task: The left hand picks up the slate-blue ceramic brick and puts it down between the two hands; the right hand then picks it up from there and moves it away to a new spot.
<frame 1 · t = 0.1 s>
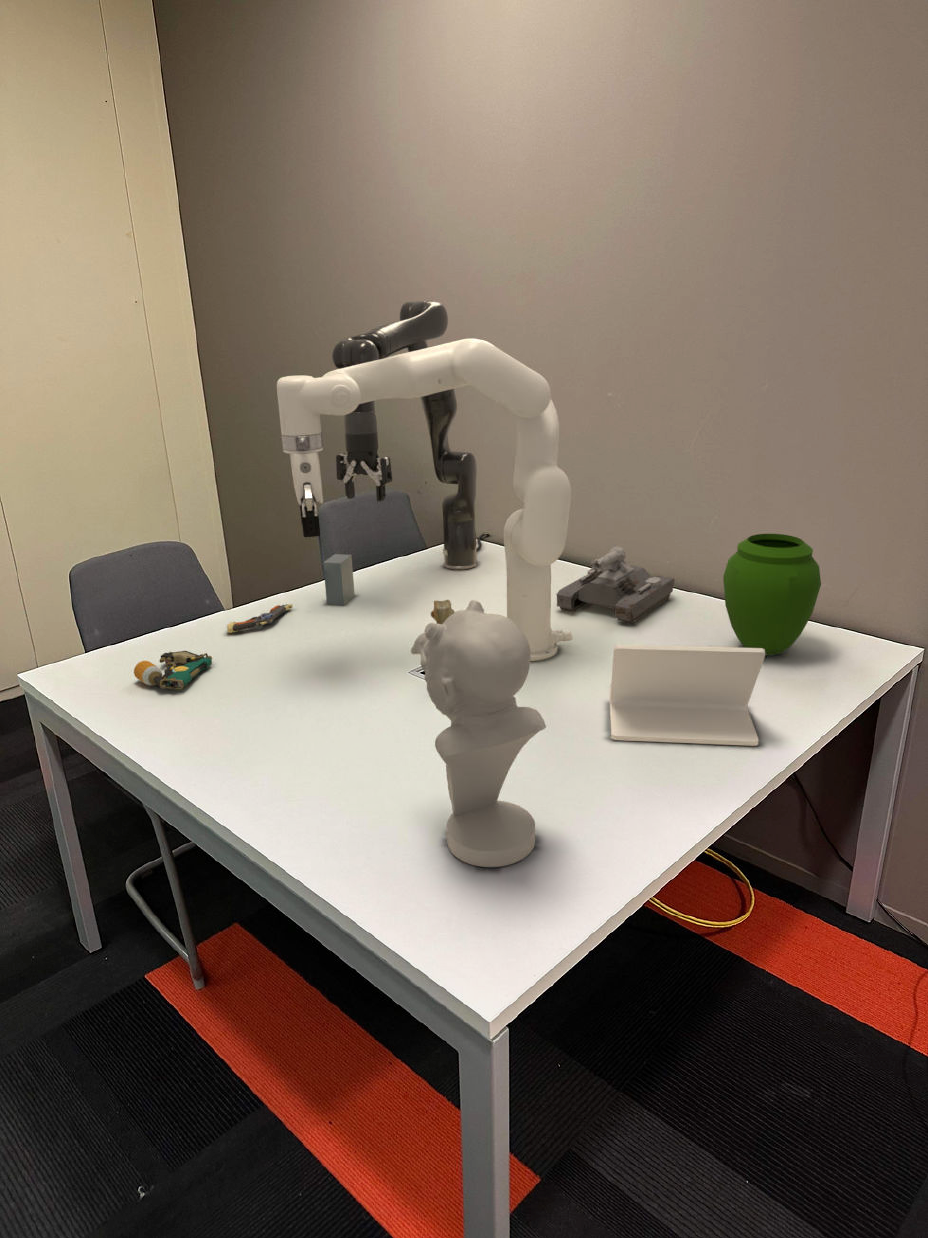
left hand: (365, 499, 203), 29 cm above the table, tool pointing down, fingers open, 8 cm apart
right hand: (310, 530, 169), 31 cm above the table, tool pointing down, fingers open, 9 cm apart
toy gun: (260, 622, 210), on the table
brick: (341, 600, 224), on the table
vase: (764, 649, 185), on the table
tablet stand: (679, 719, 156), on the table
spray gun: (177, 676, 181), on the table
sculpture: (445, 671, 180), on the table
bust sculpture: (470, 832, 125), on the table
toy: (615, 605, 214), on the table
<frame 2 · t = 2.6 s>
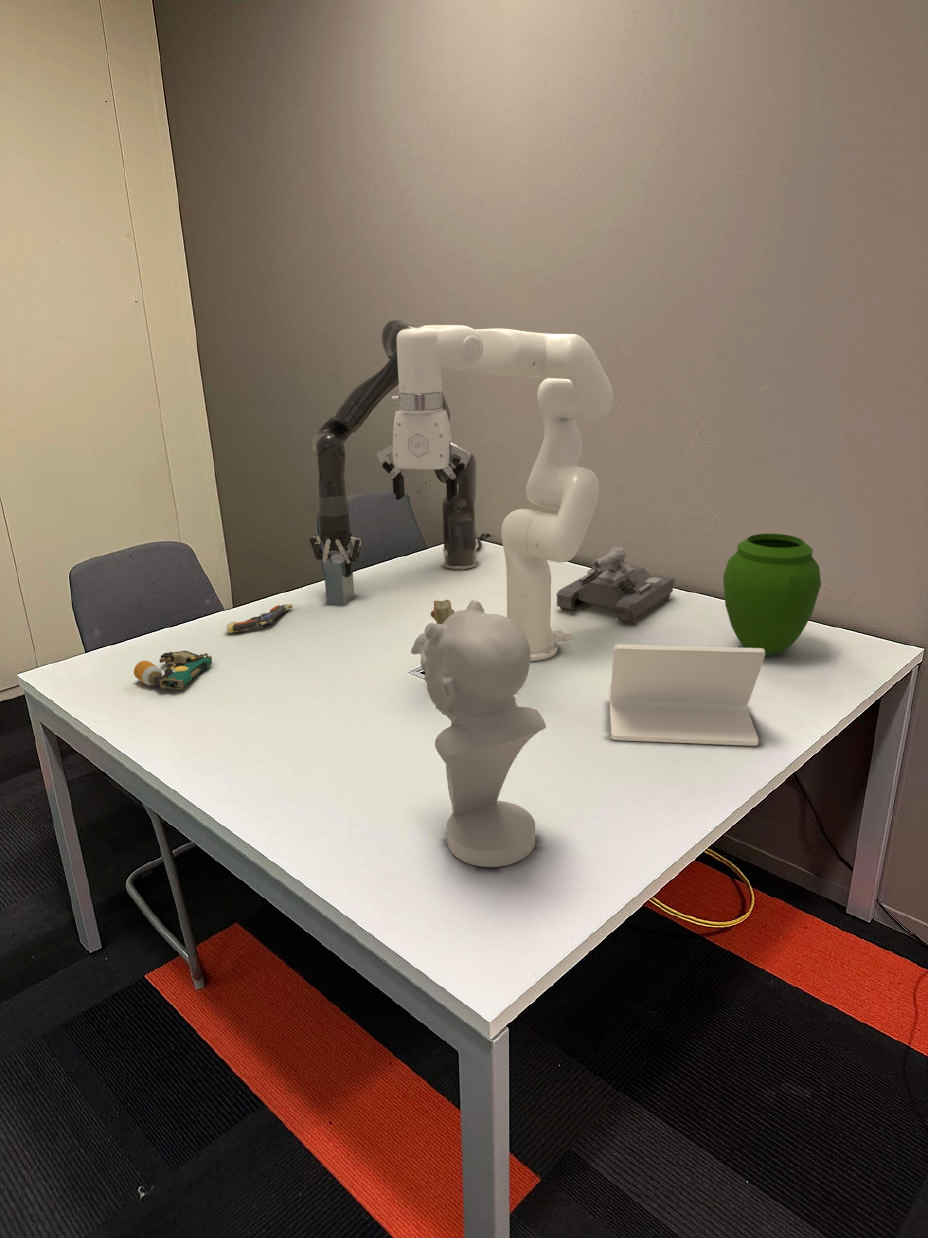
left hand: (339, 575, 221), 7 cm above the table, tool pointing down, fingers closed on brick, 4 cm apart
right hand: (425, 498, 156), 39 cm above the table, tool pointing down, fingers open, 9 cm apart
brick: (341, 600, 224), on the table, touching left hand
everything else where it was.
when the left hand's fingers open (8 cm above the table, at t = 6.0 s): brick stays where it is, on the table.
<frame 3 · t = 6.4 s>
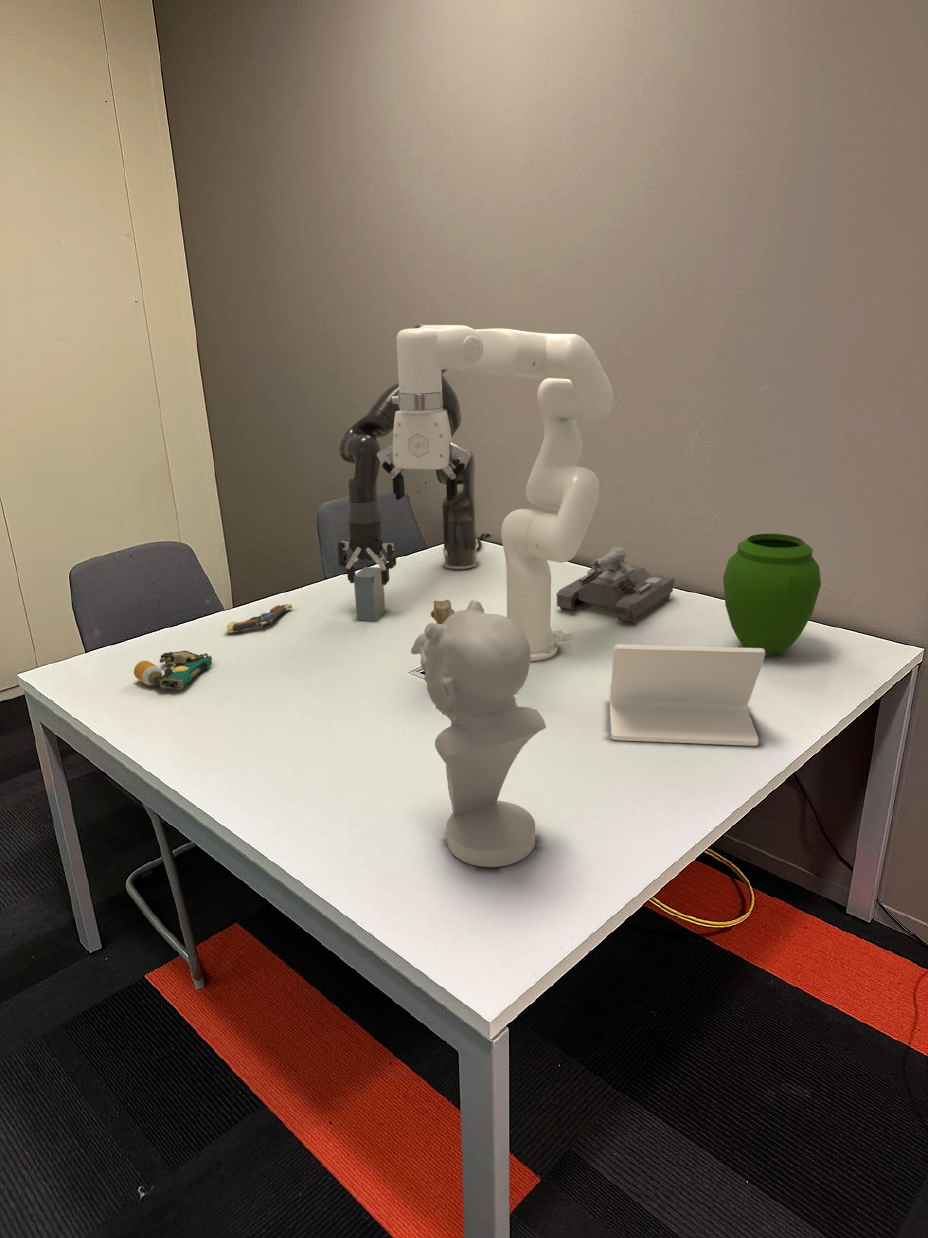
left hand: (368, 583, 209), 9 cm above the table, tool pointing down, fingers open, 8 cm apart
right hand: (425, 498, 156), 39 cm above the table, tool pointing down, fingers open, 9 cm apart
brick: (371, 615, 212), on the table
everything else where it was.
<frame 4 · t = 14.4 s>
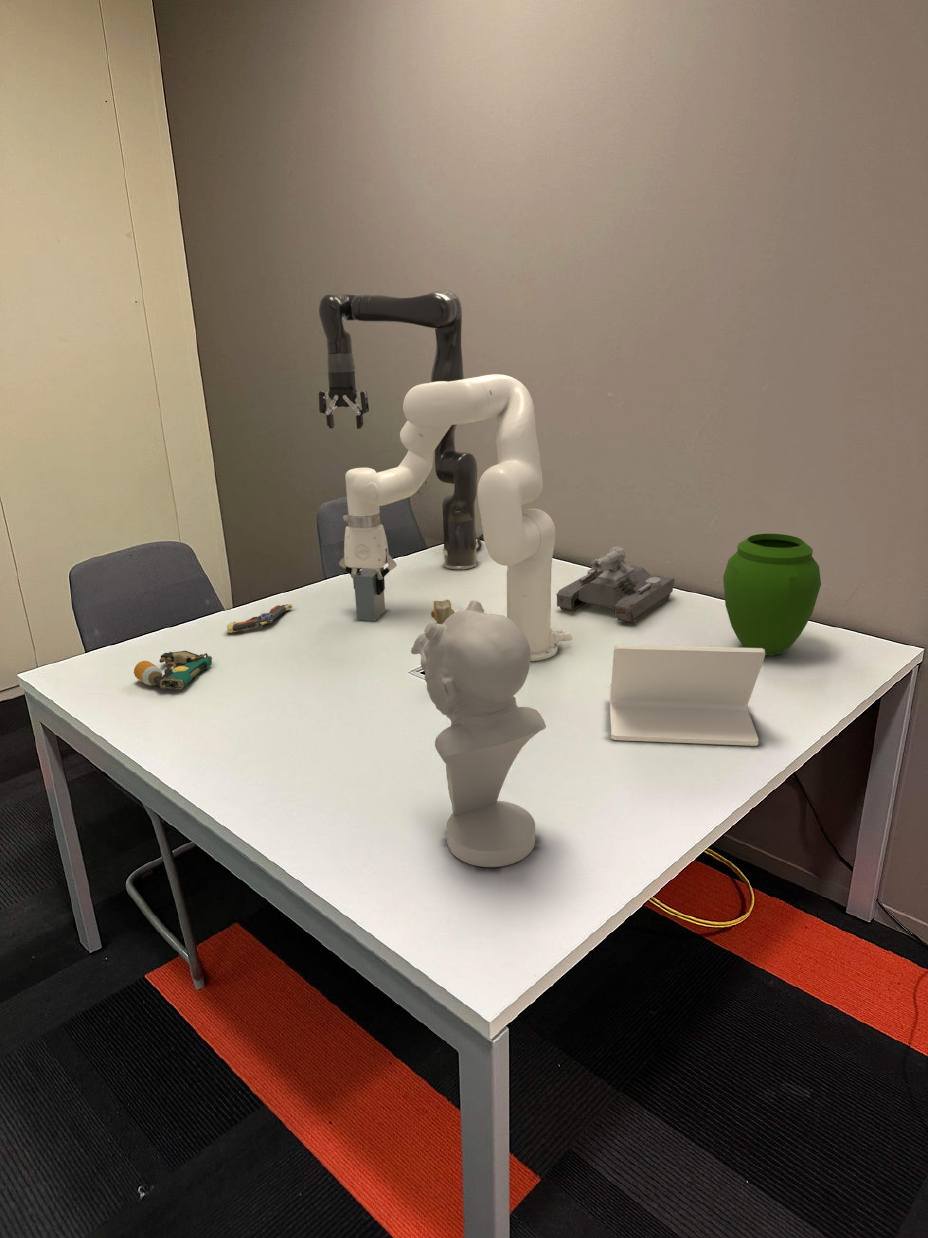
left hand: (345, 428, 246), 39 cm above the table, tool pointing down, fingers open, 8 cm apart
right hand: (369, 592, 210), 6 cm above the table, tool pointing down, fingers closed on brick, 4 cm apart
brick: (371, 615, 212), on the table, touching right hand
everything else where it was.
when the right hand's fingers open (7 cm above the table, at t = 24.7 s): brick stays where it is, on the table.
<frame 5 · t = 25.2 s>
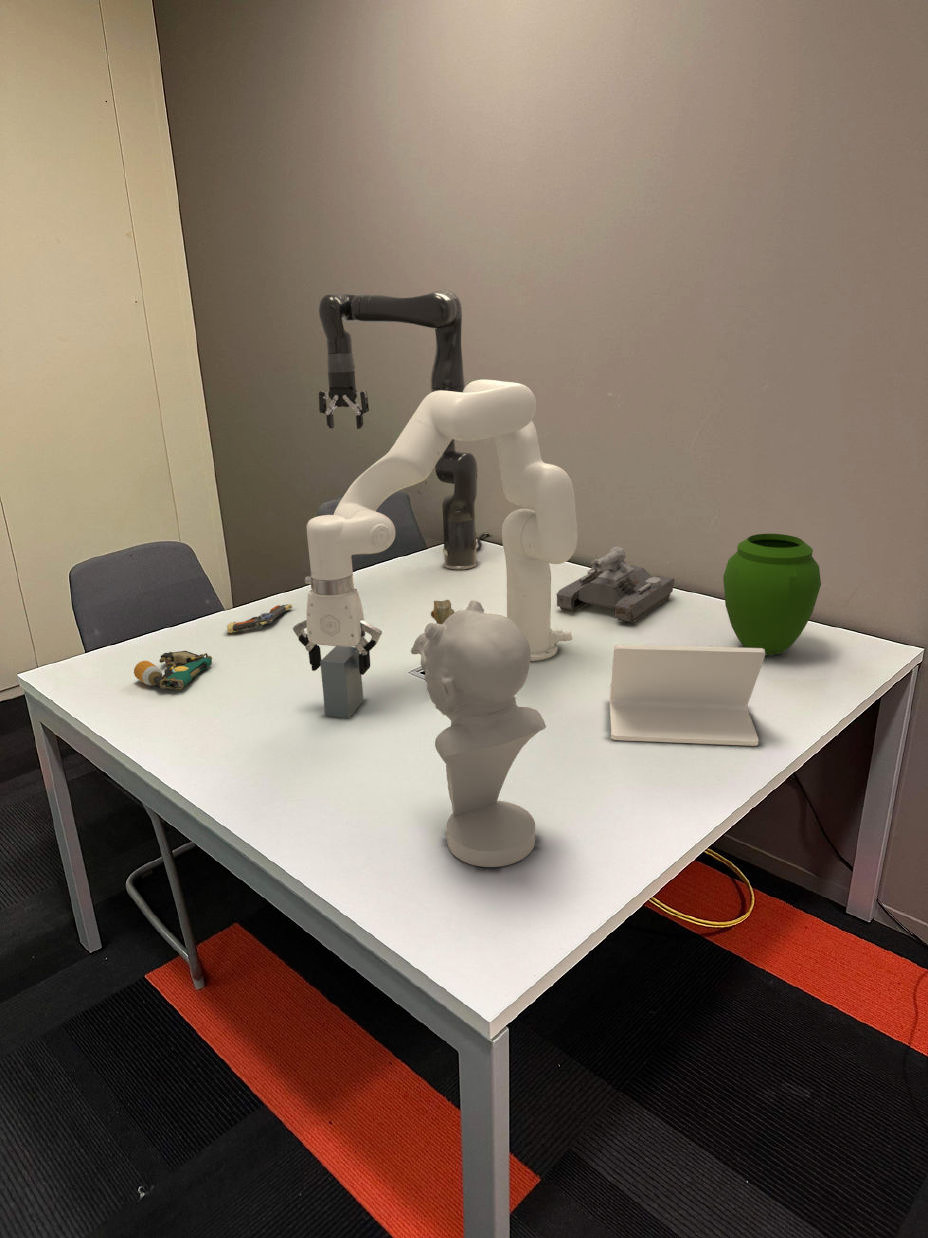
left hand: (345, 428, 246), 39 cm above the table, tool pointing down, fingers open, 8 cm apart
right hand: (340, 669, 161), 8 cm above the table, tool pointing down, fingers open, 9 cm apart
brick: (344, 708, 164), on the table
everything else where it was.
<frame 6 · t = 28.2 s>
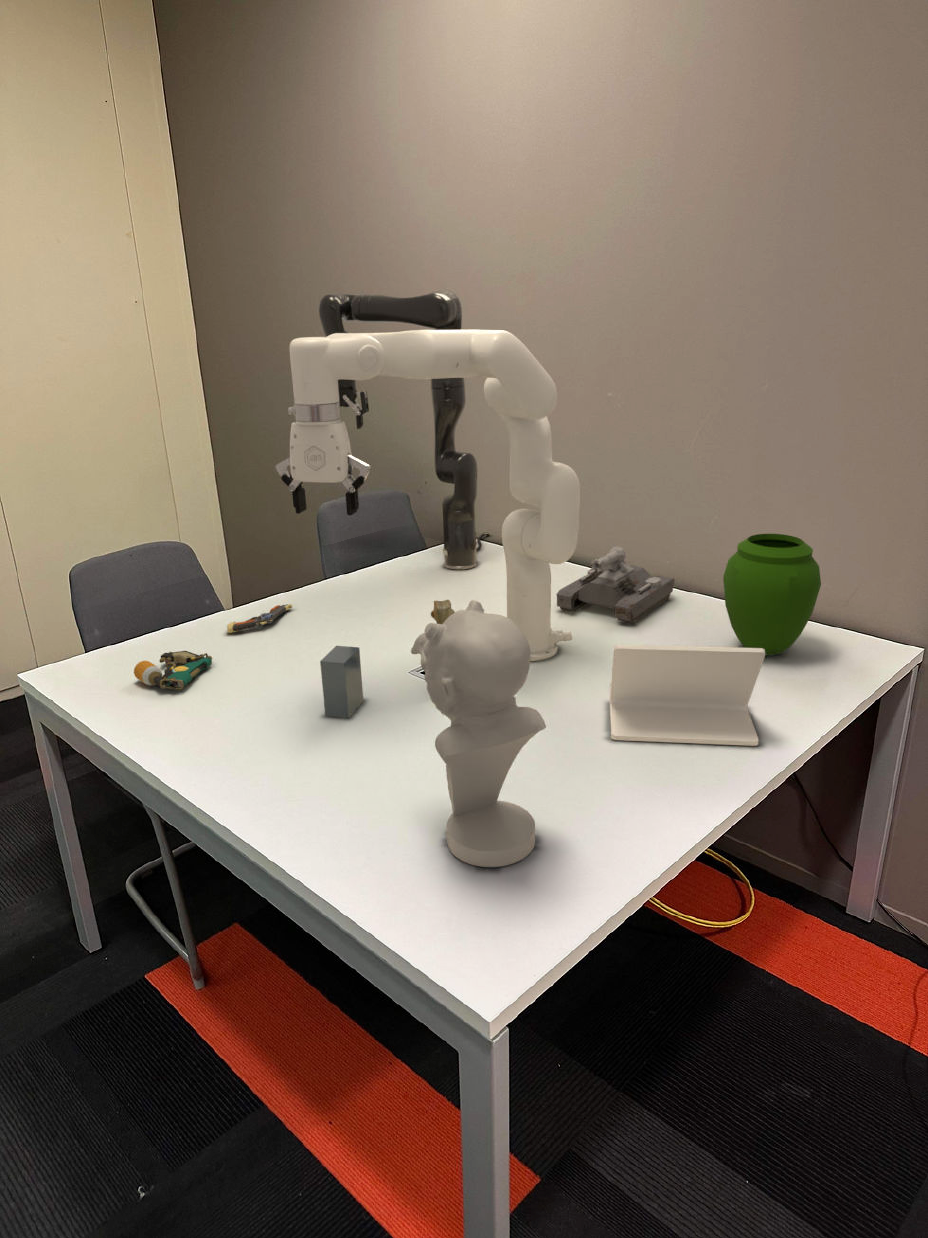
left hand: (345, 428, 246), 39 cm above the table, tool pointing down, fingers open, 8 cm apart
right hand: (326, 512, 151), 39 cm above the table, tool pointing down, fingers open, 9 cm apart
nothing on the table moved.
at the end: brick inside the target area (0.3 cm from its centre), on the table; brick tilted 0°; the two hands never held the brick at the same time; the left hand is holding nothing; the right hand is holding nothing; brick at rest at the end (0.0 cm/s) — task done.
